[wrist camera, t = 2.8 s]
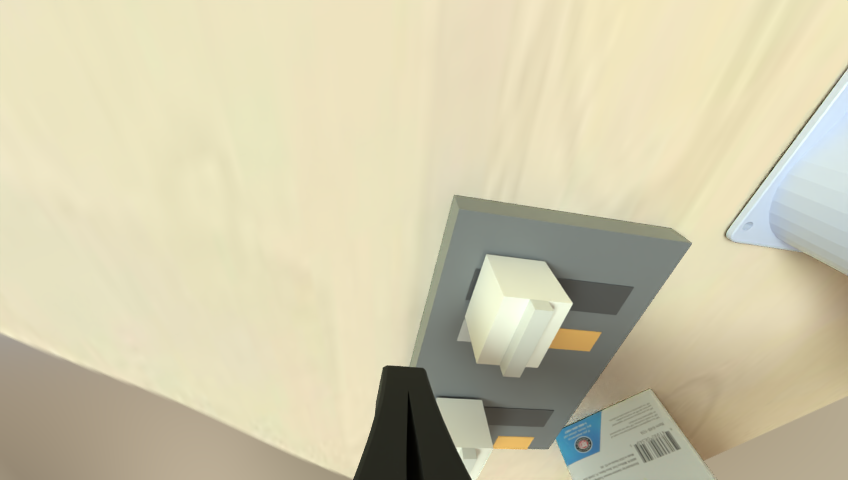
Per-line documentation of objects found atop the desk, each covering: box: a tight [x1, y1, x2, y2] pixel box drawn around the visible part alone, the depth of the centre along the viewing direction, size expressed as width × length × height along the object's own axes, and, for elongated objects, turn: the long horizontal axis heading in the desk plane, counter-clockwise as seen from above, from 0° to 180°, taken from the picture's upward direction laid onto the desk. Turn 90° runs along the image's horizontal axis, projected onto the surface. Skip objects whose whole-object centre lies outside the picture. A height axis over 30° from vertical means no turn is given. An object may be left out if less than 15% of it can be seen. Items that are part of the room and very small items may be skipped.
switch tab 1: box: [436, 398, 493, 480], centre depth 21 cm, size 4×3×4 cm
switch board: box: [409, 195, 692, 449], centre depth 21 cm, size 19×12×2 cm, turn 169°
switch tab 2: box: [465, 254, 573, 378], centre depth 16 cm, size 4×3×4 cm
